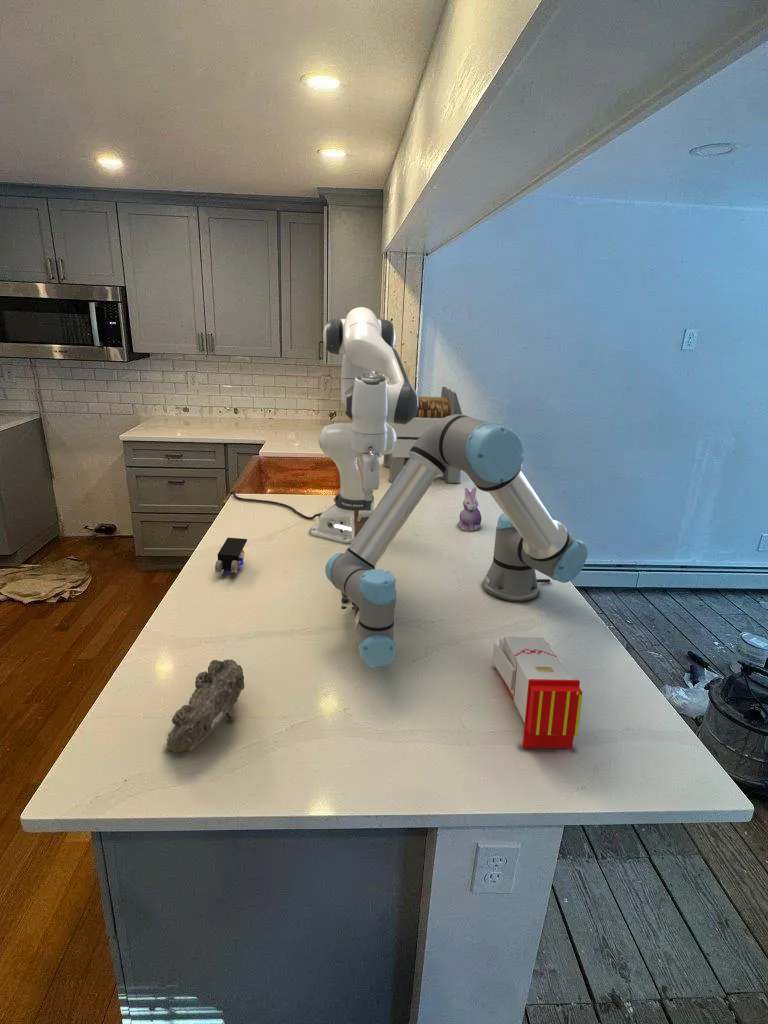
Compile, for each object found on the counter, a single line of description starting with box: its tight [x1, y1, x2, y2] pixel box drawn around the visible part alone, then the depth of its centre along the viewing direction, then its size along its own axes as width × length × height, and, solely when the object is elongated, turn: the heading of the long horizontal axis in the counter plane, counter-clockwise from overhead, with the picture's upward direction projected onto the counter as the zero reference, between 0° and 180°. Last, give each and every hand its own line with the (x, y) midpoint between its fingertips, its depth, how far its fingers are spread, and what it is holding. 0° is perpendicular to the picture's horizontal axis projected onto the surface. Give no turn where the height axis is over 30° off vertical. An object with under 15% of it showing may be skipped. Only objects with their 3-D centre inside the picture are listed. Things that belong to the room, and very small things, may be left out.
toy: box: [491, 636, 583, 749], centre depth 115 cm, size 12×13×30 cm
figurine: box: [458, 486, 482, 532], centre depth 206 cm, size 9×10×15 cm
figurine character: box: [214, 537, 248, 578], centre depth 166 cm, size 7×8×15 cm
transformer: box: [383, 386, 463, 484], centre depth 268 cm, size 34×33×41 cm
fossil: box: [166, 658, 245, 754], centre depth 106 cm, size 22×10×15 cm
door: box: [354, 510, 374, 538], centre depth 146 cm, size 15×5×9 cm
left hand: (366, 495), depth 143 cm, fingers open, 5 cm apart
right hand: (363, 573), depth 154 cm, fingers closed on chest, 5 cm apart
